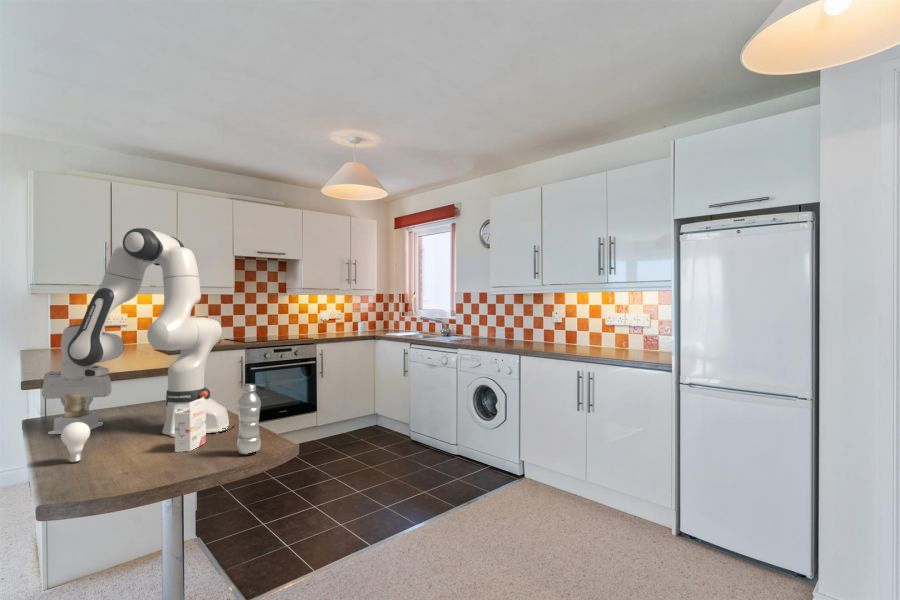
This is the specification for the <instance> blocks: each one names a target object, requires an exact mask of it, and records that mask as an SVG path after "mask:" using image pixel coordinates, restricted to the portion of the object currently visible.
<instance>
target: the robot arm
mask: <svg viewBox="0 0 900 600" xmlns="http://www.w3.org/2000/svg"><path fill="white" fill-rule="evenodd" d="M150 265H154V266H160V267H161V272H162V281H163V282H162V283H163V306H162V309H161V312H160V314H159V315H158V317H157V318H156V320H154V321H153V322H152V323H151V324H150V325H149V326H148V329H147V331H146V334H147V335H146V338H147V342H148V343H149V345H150V346H151V347H152V348H153V349H156V350H161V351H180V354H179V355H178V357H177V359H176V360H175V361H174V362H172V363H171V364H170V365H169V367H168V369H167V390H166V393H165V403H166V404H165V405H166V415H165V421H164V424H163V428H162V430H161V433H162V434H163V435H166V436H170V437H172V438H175V414H174V413H176V412H179V411H181V410H184V409H187V408H189V403H190V402H192V401H195V400H198V399H201V398H203V397H204V398H205V406H206V433H211V432H218V431H222V430H225V429H222V428H226V429H227V428H228V427H227V426H229V421H230V417H229V414H228V413H229V412H228V410H227V408H226V407H225V406H224V405H222V404H221V403H219V402H217V401H216V400H215V399H212V398H211V393H212V390H213V389H211V388H210V389H208V388H207V387H206V386H205V380H206V379H205V375H206V364H207V361H208V357H209V356H210V354H211V351H212V349H213V347H214V346H215V345H216V344H217V343H219V342H220V340H221V338H222V336H223V335H222V334H223V330H222V326H221V324H220V322H218V321H217V320H216V319H213V318H209V317H204V316H202V317H201V316H200V317H199V316H198V317H197V316H196V317H194V316H193V317H191V315H192V314H191V313H192V310H193V308H194V306H196V305H197V304H198V303H200V301H201V298H202V292H201V291H202V290H201V283H200V281H201V280H200V273H199V267H198V266H199V265H198V263H197V260H196V256H195V254H194V252H193V251H192V250H191V249H190V248H187V247H185V245H184V244H183V242H182V241H181V240H180V239H178V238H176V237H175V236H171V235H168V234H165V233H163V232H161V231H157V230H152V229H149V228H145V227H144V228H143V227H137V228H132V229H130V230H129V231H127V232H126V233H125V234H124V236H123V238H122V244H121V245H119V246H117V247H116V248H115V249H114V251H113V253H112V254H111V256H110V259H109V261H108V263H107V267H106V269H105V272H104V276H103V278H102V281H101V283H100V285H99V287H98V288H97V291H95V293H94V294H93V296H92V298H91V300H90V302H89V305H88V307H87V309H86V311H85V314H84V316H83V319H82V320H81V323H80V324H74V325H70V326H69V325H68V326H67V327H65V328H64V329H63V331H62V334H61V341H60V352H61V357H62V358H61V361H60V371H59V370H58V371H57V370H56V371H54V370H53V371H51V370H50V371H47V373H45V374H44V375H43V384H42V391H41V397H42V398H43V399H44V400H45V399H47V400H48V399H49V400H51V399H53V400H54V399H60V403H61V405H62V406H63V407H64V408H63V409H64V412H65V395H80V398H85V401H87V402H86V403H85V405H83V406H82V411H87V410H89V411H90V405H91V403H92V402H93V401H94V398H105V397H108V396H110V395H111V394H112V381H111V378H110V375H108V374H109V373H110V369H109V368H108V367H104V366H101V365H97V364H98V363H103V362H107V361H112V360H115V359H117V358H119V357H120V356H121V355H122V354H123V353H124V349H125V343H124V341H123V339H122V338H121V337H120V336H119V335H117V334H115V333H109V332H106V331H104V329H105V327H106V325H107V322H108V319H109V317H110V315H111V314H112V312H113V311H114V310H115V309H116V308H117V307H119V306H120V305H122V304H124V303H126V302H129V301H131V300H133V299H134V298H135V297H136V296H137V295H138V293H139V292H140V289H141V287H142V284H143V281H144V277H145V273H146V270H147V268H148V267H149V266H150ZM198 405H200V403H198V402H197V404H195V406H198Z"/></svg>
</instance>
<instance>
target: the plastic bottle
mask: <svg viewBox="0 0 900 600" xmlns="http://www.w3.org/2000/svg"><path fill="white" fill-rule="evenodd" d="M241 387H242V390H241V392H242V394H241V395H240V397H239V399H238V400H237V402H236V406H237V413H238V422H239V423H238V426H239V427H238V434H237V435H238V436H237V437H238V438H237V441H236V450H237V452H238V453H239V454H240V455H249V454H248V453H252V452H255V451H258V450H259V451H260V449H261V443H262V442H261V436H260V427H259V423H260V421H259V420H260V413H261V405H262V401H261V399H260V397H259V395H258V394H257V392H256V391H257V385H256V384H255V383H245V384H242V386H241ZM259 451H258V452H259Z"/></svg>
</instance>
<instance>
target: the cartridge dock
mask: <svg viewBox="0 0 900 600" xmlns="http://www.w3.org/2000/svg"><path fill="white" fill-rule="evenodd" d="M73 422H83V423H85V424H87V425H88V426H89V428H90V431H92V430H93V429H96V428H98V427H101V426H103V425H104V421H99V411H89V414H87V415H84V416H81V417H79V418H65V415H63V416H62V415H61V416H60V417H56V418H54V419H53V430H50V431H48V432H47V435H48V434H61V432H62V430H63V429H64V428H65V427H66V426H67V425H68V424H70V423H73Z"/></svg>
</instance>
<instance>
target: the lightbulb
mask: <svg viewBox="0 0 900 600" xmlns="http://www.w3.org/2000/svg"><path fill="white" fill-rule="evenodd" d="M90 436H91V430H90V428H89V426H88V425H87V424H85V423H83V422H73V423H70V424H68V425H67V426H66V427H65V428H64V429H63V430H62V432H61V435H60V440H61V441H62V443H63V444H64V445H65V446H66V447H67V452H68V454H69V458H68V461H69V462H70V463H73V464H75V463H78V462H80V461H81V460H82V459H83V457H82V455H83V450H84V447H85V446H84V445H85V444H86V442H87V441H88V440H89V438H90Z"/></svg>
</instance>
